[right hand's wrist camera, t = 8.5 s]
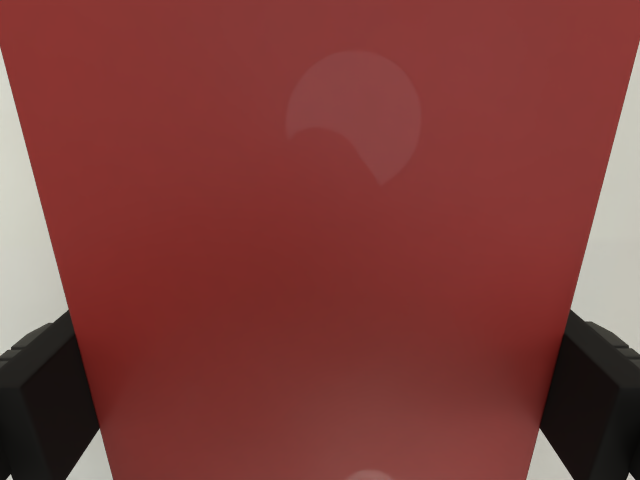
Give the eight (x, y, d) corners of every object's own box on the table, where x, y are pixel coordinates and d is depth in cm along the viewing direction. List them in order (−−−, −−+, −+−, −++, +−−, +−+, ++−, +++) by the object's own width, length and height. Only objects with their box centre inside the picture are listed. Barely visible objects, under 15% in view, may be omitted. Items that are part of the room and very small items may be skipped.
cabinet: (181, -89, 15) (-161, -554, 4) (456, -89, 15) (796, -552, 4) (221, 301, 21) (120, 513, 10) (417, 301, 21) (519, 512, 10)
